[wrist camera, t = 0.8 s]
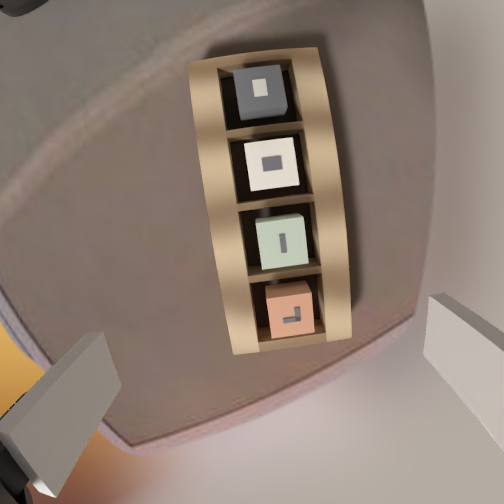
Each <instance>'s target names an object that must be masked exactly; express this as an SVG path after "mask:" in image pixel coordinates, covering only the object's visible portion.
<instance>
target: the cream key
mask: <svg viewBox="0 0 504 504" xmlns="http://www.w3.org/2000/svg"><path fill="white" fill-rule="evenodd" d="M244 147H245V154H246V161H247V167H248V174H249V181H250V188H251V191H257V190H264V189H271V188H279V187H287V186H295V185H299V178H298V171H297V164H296V157H295V150H294V144H293V137H291V138H282V139H274V140H266V141H258V142H251V143H244Z"/></svg>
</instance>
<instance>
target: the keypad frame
mask: <svg viewBox="0 0 504 504" xmlns="http://www.w3.org/2000/svg"><path fill="white" fill-rule="evenodd" d="M271 65H280V68H281V71H285V70H288V73H289V78H290V83H291V89H292V94H293V100H294V106H295V112H296V118H297V122H288V123H279V124H271V125H263V126H255V127H248V128H241V129H234V130H228V126H227V119H226V112H225V106H224V99H223V92H222V85H221V78H228V77H234V74H233V70H238V69H245V68H253V67H261V66H271ZM187 66H188V75H189V83H190V91H191V99H192V107H193V115H194V123H195V130H196V137H197V145H198V152H199V159H200V165H201V172H202V179H203V185H204V192H205V198H206V205H207V211H208V217H209V223H210V229H211V235H212V241H213V247H214V253H215V259H216V265H217V270H218V276H219V281H220V287H221V292H222V298H223V303H224V309H225V314H226V319H227V324H228V329H229V335H230V340H231V345H232V350H233V355H236V354H245V353H254V352H263V351H270V350H278V349H285V348H292V347H299V346H306V345H312V344H318V343H324V342H330V341H335V340H341V339H346V338H351V337H352V332H351V297H350V276H349V260H348V246H347V234H346V223H345V213H344V203H343V194H342V186H341V178H340V170H339V163H338V156H337V149H336V142H335V136H334V129H333V123H332V118H331V112H330V106H329V101H328V96H327V90H326V85H325V80H324V76H323V71H322V66H321V62H320V57H319V53H318V49H317V47H308V48H290V49H277V50H267V51H257V52H249V53H242V54H235V55H228V56H222V57H216V58H210V59H205V60H200V61H195V62H190V63H187ZM292 134H299V136H300V143H301V149H302V156H303V163H304V170H305V177H306V184H307V192H308V193H302V194H294V195H286V196H278V197H271V198H263V199H256V200H249V201H242V202H239V201H238V194H237V187H236V181H235V174H234V167H233V160H232V154H231V147H230V143H231V142H238V141H244V140H251V139H259V138H266V137H274V136H283V135H292ZM305 202H309V208H310V216H311V225H312V234H313V243H314V253H315V258H309V259H308V262H309V263H307V264H300V265H293V266H286V267H279V268H272V269H264V270H262V265H259V266H251V267H248V261H247V254H246V247H245V241H244V234H243V227H242V221H241V214H240V211H246V210H253V209H260V208H267V207H275V206H282V205H290V204H298V203H305ZM311 274H317V286H318V298H319V311H320V319H317V320H314V330H315V332H313V333H307V334H301V335H294V336H287V337H280V338H272V336H271V329H270V326H269V327H262V328H258V326H257V319H256V313H255V306H254V300H253V293H252V287H251V283H254V282H261V281H269V280H276V279H283V278H290V277H297V276H304V275H311Z"/></svg>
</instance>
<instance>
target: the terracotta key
mask: <svg viewBox="0 0 504 504" xmlns="http://www.w3.org/2000/svg"><path fill="white" fill-rule="evenodd" d="M265 290H266V300H267V307H268V314H269V322H270V329H271V336H272V338H280V337H287V336H294V335H301V334H307V333H313V332H315V330H314V317H313V305H312V293H311V290H310V288H309V286H308V284H307V282H306V280H303V281H296V282H290V283H282V284H275V285H268V286H265Z"/></svg>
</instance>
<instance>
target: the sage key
mask: <svg viewBox="0 0 504 504" xmlns="http://www.w3.org/2000/svg"><path fill="white" fill-rule="evenodd" d="M256 229H257V236H258V243H259V250H260V257H261V264H262V270H264V269H272V268H279V267H286V266H293V265H300V264H307V263H309V262H308V252H307V243H306V234H305V225H304V217H303V216H302V215H300V214H299V213H292V214H285V215H277V216H270V217H263V218H256Z"/></svg>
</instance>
